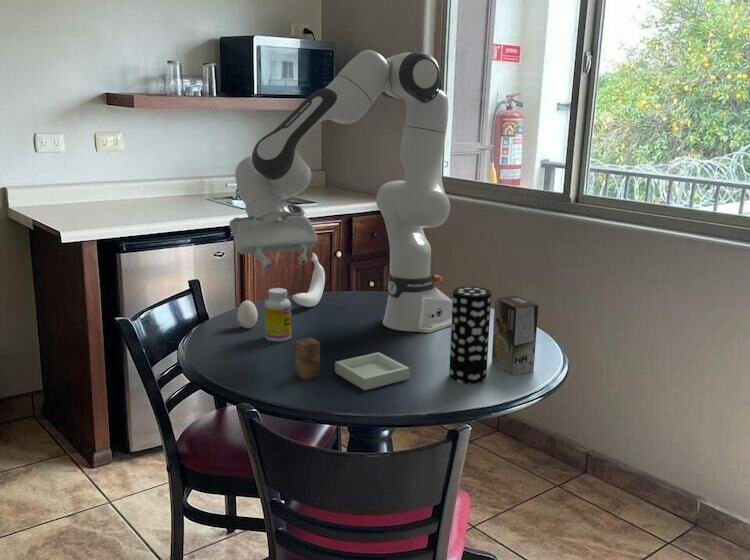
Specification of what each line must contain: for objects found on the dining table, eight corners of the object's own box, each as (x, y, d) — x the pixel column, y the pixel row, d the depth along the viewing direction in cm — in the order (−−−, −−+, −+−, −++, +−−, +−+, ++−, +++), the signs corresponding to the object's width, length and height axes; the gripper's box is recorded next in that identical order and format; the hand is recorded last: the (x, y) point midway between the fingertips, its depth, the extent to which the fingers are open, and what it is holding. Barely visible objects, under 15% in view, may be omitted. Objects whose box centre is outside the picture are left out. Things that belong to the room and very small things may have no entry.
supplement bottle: (286, 343, 182) (285, 294, 178) (261, 341, 183) (260, 292, 180) (294, 335, 188) (294, 288, 185) (270, 333, 189) (269, 286, 186)
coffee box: (535, 371, 166) (540, 305, 162) (512, 375, 163) (516, 308, 159) (512, 358, 174) (516, 295, 170) (489, 362, 171) (493, 297, 167)
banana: (291, 313, 207) (291, 264, 203) (313, 296, 225) (312, 250, 221) (307, 315, 206) (307, 265, 202) (328, 297, 223) (328, 251, 220)
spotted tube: (476, 386, 157) (481, 298, 152) (442, 378, 161) (446, 292, 156) (492, 375, 163) (497, 290, 158) (458, 367, 168) (462, 284, 163)
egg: (239, 324, 196) (238, 297, 194) (259, 324, 196) (258, 297, 194) (236, 331, 191) (235, 303, 189) (256, 331, 191) (256, 303, 189)
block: (311, 370, 164) (310, 337, 162) (319, 376, 161) (319, 342, 159) (295, 374, 162) (295, 340, 160) (304, 380, 159) (304, 345, 157)
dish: (378, 362, 170) (378, 352, 169) (409, 378, 160) (409, 368, 160) (335, 372, 163) (335, 361, 162) (364, 390, 154) (364, 379, 153)
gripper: (231, 210, 164) (249, 260, 158) (309, 207, 175) (328, 253, 170) (223, 226, 168) (240, 275, 163) (299, 222, 180) (318, 268, 174)
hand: (286, 264), depth 167 cm, fingers open, 8 cm apart
